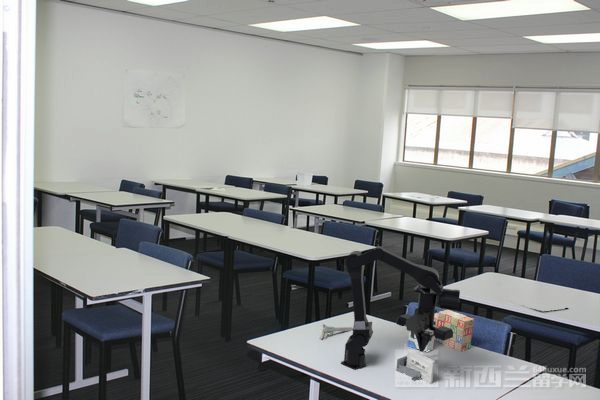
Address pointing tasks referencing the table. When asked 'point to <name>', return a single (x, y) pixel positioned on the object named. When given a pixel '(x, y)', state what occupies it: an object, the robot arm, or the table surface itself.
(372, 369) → the table surface
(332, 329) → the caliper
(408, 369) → the bracket
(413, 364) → the cassette
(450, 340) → the stack of blocks
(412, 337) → the ink box
